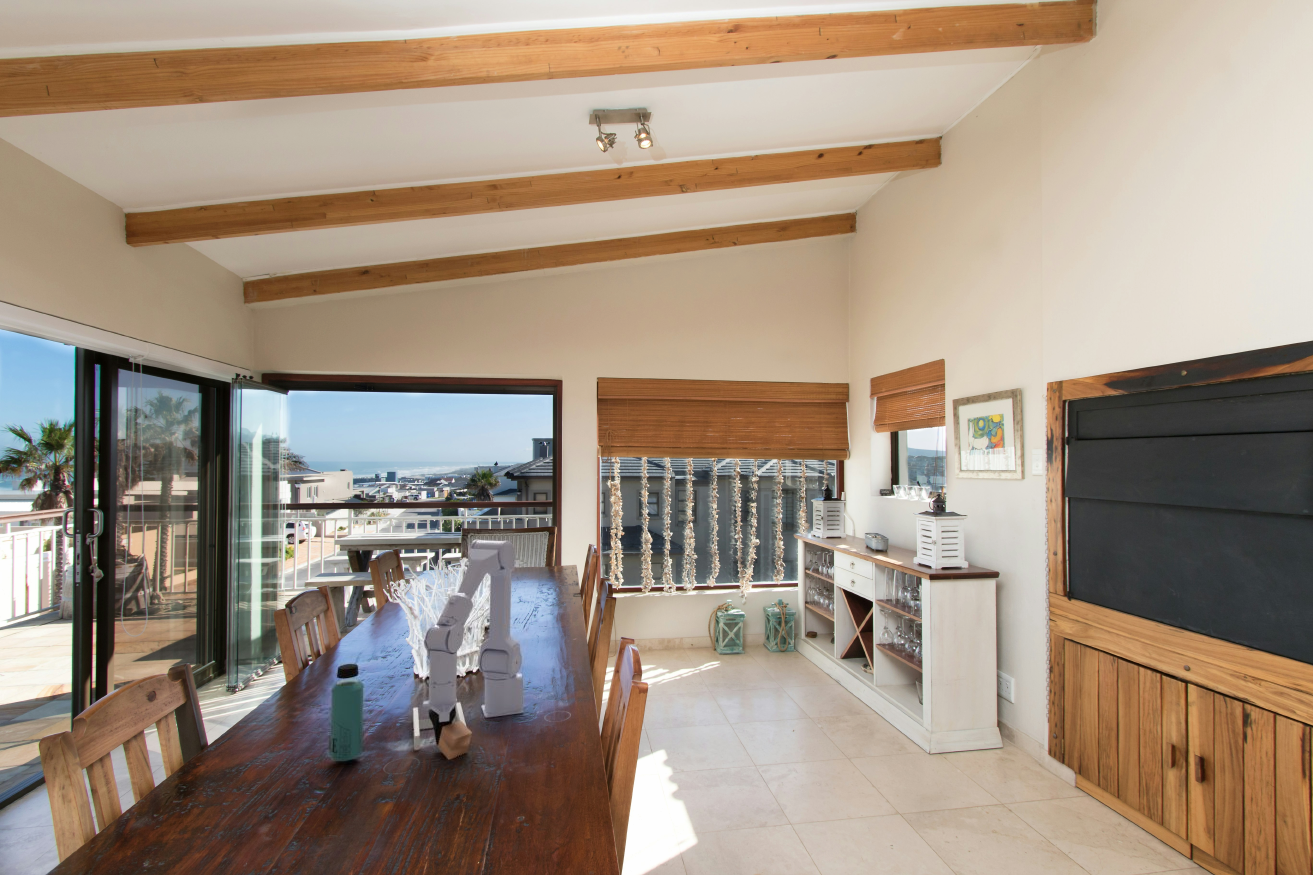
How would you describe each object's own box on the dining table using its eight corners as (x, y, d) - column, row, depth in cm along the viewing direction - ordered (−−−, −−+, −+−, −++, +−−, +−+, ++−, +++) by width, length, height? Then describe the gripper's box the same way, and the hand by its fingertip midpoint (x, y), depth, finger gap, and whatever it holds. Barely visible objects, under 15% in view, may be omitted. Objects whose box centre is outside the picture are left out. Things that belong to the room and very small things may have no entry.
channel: (459, 714, 163) (460, 702, 163) (466, 742, 146) (466, 729, 146) (413, 720, 159) (413, 707, 159) (414, 750, 142) (414, 736, 142)
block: (455, 740, 144) (460, 720, 143) (467, 752, 141) (472, 732, 140) (437, 746, 140) (442, 726, 140) (448, 759, 138) (453, 739, 137)
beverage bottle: (370, 757, 138) (372, 662, 139) (345, 771, 132) (348, 671, 133) (345, 753, 141) (348, 659, 141) (320, 766, 134) (323, 667, 135)
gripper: (422, 672, 148) (421, 733, 148) (424, 693, 135) (423, 760, 134) (454, 669, 151) (453, 728, 150) (460, 689, 137) (458, 754, 137)
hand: (441, 743), depth 142 cm, fingers closed
